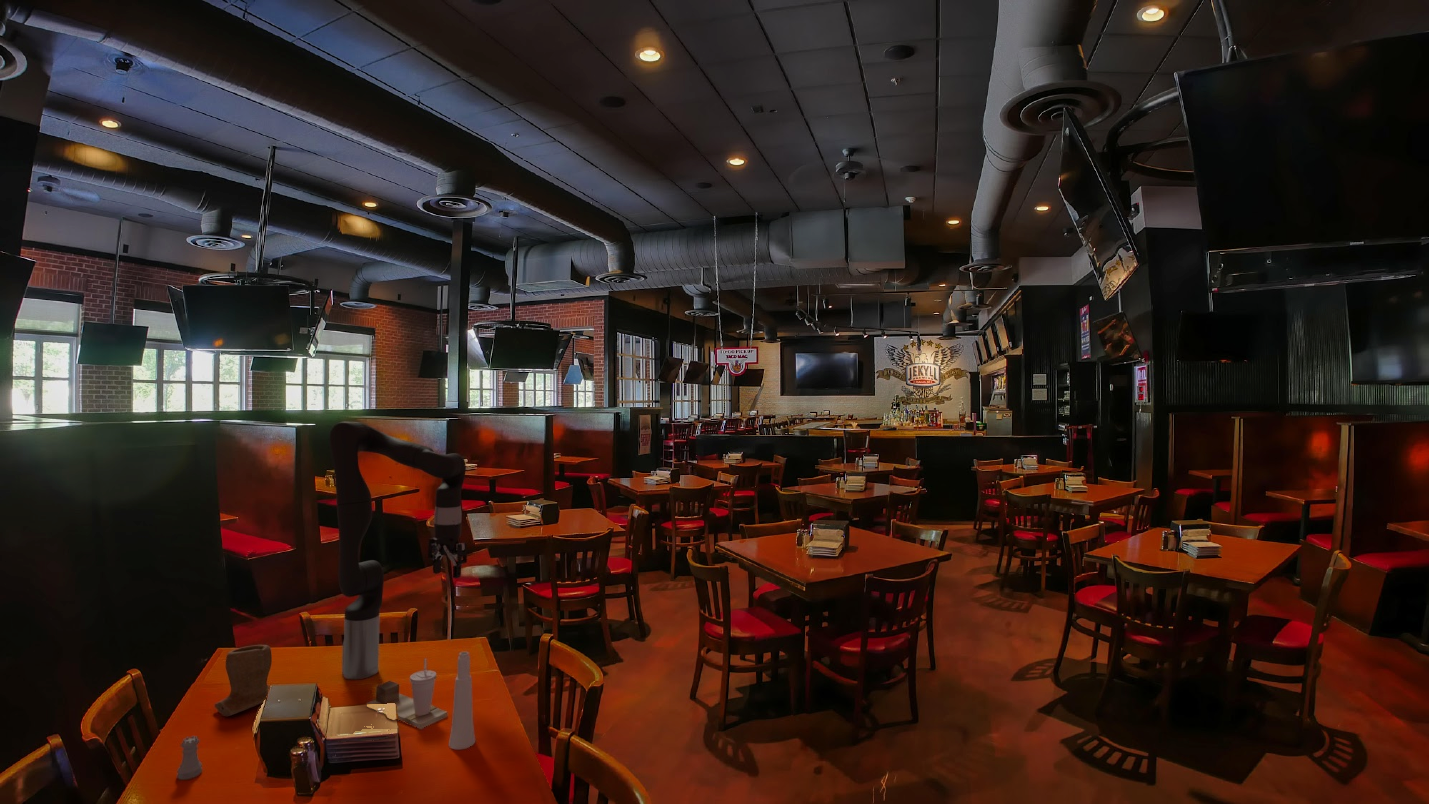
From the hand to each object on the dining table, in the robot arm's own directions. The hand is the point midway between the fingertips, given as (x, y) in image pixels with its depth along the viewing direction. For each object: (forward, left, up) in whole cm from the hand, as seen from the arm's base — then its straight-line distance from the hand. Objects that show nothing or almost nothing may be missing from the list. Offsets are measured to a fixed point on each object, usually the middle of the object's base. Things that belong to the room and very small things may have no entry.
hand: (446, 575), depth 198 cm
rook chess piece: (-4, -63, -30) cm, 70 cm away
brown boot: (-29, -40, -30) cm, 58 cm away
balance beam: (+10, -20, -30) cm, 37 cm away
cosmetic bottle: (+35, -23, -30) cm, 52 cm away
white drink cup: (+16, -20, -29) cm, 39 cm away
